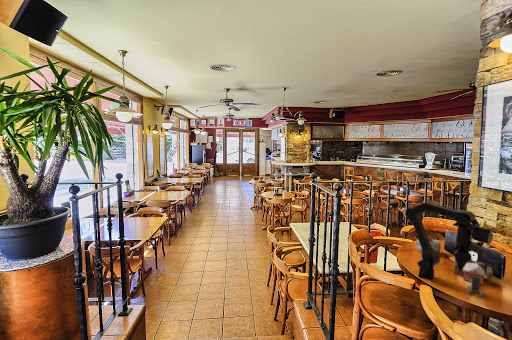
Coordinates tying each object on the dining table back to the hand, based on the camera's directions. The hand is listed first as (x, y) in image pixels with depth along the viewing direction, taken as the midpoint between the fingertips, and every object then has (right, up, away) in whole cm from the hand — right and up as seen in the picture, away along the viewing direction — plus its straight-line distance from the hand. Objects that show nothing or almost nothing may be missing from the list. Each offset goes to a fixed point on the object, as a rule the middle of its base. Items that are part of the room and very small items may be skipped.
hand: (460, 266), depth 132 cm
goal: (+20, -11, +17) cm, 29 cm away
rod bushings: (+7, -13, -1) cm, 15 cm away
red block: (+11, -13, +5) cm, 18 cm away
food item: (+14, -8, +47) cm, 50 cm away
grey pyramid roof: (+18, -12, +14) cm, 26 cm away
